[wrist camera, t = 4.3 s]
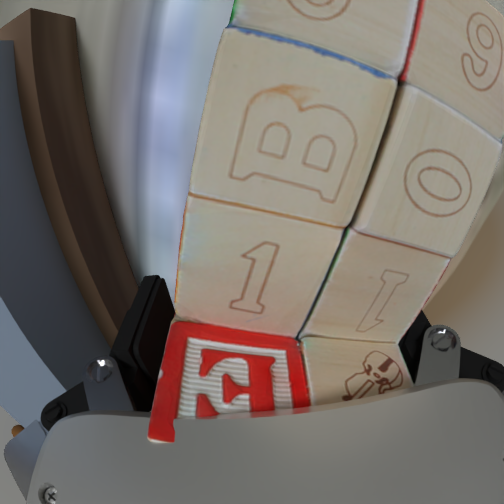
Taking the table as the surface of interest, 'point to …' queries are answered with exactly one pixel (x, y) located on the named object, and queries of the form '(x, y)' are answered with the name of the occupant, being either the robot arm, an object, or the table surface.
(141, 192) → the table surface
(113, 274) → the walnut tower block
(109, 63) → the table surface
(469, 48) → the stack of blocks
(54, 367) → the slate-blue tower block
